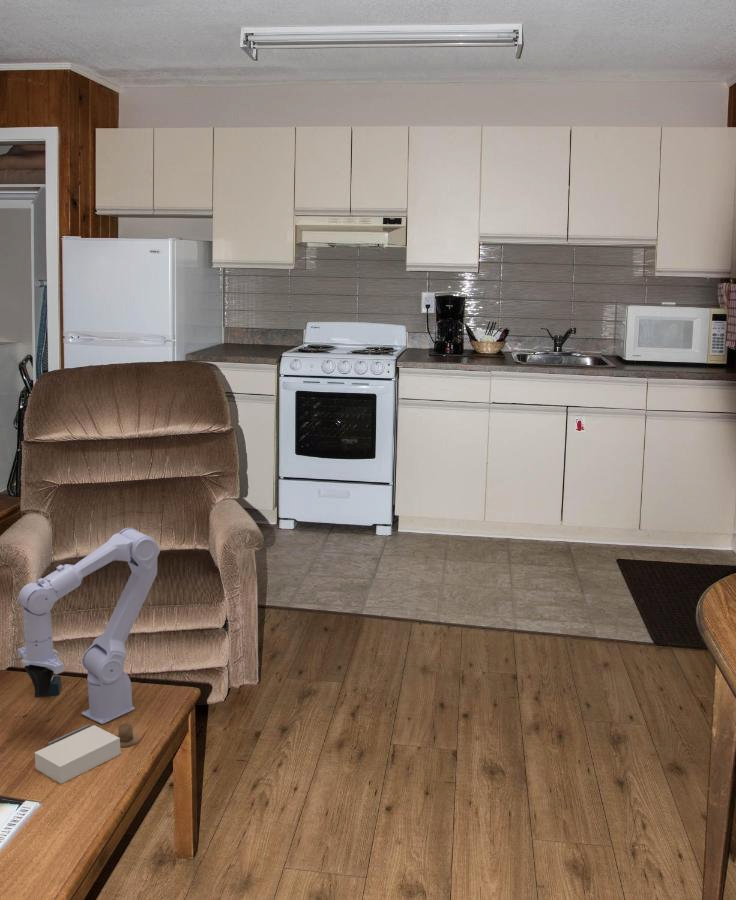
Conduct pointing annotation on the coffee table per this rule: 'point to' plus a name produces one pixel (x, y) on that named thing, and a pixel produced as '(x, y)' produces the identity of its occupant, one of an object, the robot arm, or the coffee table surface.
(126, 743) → the stand
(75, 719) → the coffee table surface
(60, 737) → the tray
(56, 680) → the watch
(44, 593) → the robot arm
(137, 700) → the coffee table surface
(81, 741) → the player
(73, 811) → the coffee table surface
